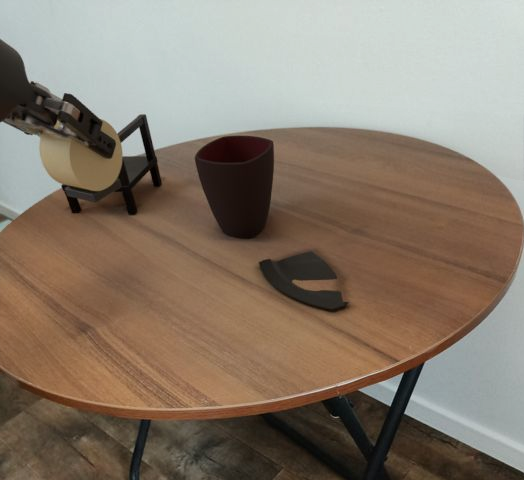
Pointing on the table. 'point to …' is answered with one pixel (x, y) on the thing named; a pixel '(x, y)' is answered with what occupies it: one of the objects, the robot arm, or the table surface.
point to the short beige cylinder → (82, 165)
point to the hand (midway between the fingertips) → (94, 147)
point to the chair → (131, 166)
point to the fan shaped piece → (302, 269)
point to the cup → (238, 182)
